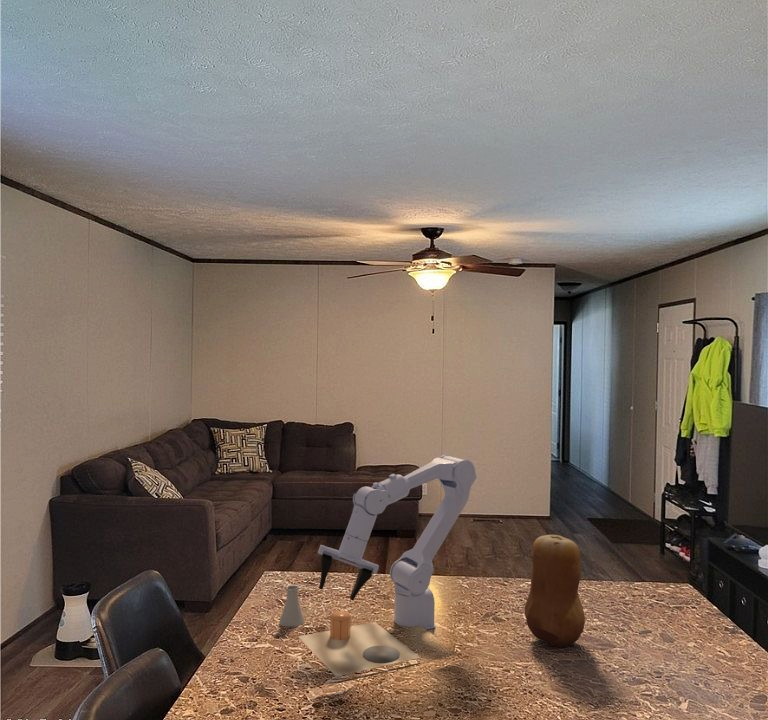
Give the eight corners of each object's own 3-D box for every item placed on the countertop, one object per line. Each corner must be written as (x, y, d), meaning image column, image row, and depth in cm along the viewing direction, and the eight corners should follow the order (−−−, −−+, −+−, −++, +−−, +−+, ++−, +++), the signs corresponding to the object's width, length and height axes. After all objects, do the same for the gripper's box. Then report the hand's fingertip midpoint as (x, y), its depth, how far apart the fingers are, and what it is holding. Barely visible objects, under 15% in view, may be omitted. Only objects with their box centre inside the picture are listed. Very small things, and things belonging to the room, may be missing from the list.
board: (374, 627, 175) (374, 605, 175) (420, 664, 155) (420, 639, 155) (297, 642, 165) (297, 619, 165) (336, 683, 146) (336, 657, 146)
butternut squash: (588, 637, 171) (590, 533, 170) (579, 660, 158) (581, 548, 158) (531, 627, 176) (533, 526, 176) (517, 648, 164) (519, 540, 164)
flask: (301, 635, 170) (302, 593, 170) (272, 632, 171) (273, 590, 171) (310, 623, 177) (311, 583, 177) (283, 620, 178) (283, 581, 178)
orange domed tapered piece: (344, 630, 169) (345, 610, 169) (352, 637, 165) (353, 616, 165) (327, 634, 167) (328, 613, 167) (335, 641, 163) (335, 619, 163)
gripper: (328, 528, 163) (307, 586, 161) (387, 549, 164) (367, 607, 162) (326, 525, 170) (306, 581, 168) (383, 545, 171) (363, 601, 169)
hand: (336, 594), depth 165 cm, fingers open, 7 cm apart
